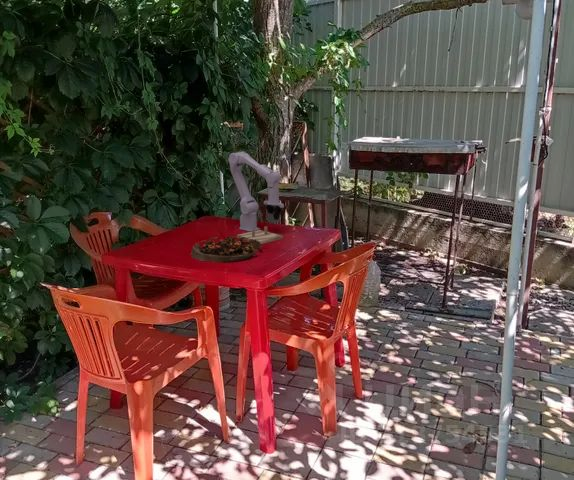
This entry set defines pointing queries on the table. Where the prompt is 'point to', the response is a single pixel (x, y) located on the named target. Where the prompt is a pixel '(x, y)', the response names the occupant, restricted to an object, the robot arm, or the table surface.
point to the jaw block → (273, 218)
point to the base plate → (261, 236)
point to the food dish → (226, 250)
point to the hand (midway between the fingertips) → (274, 218)
